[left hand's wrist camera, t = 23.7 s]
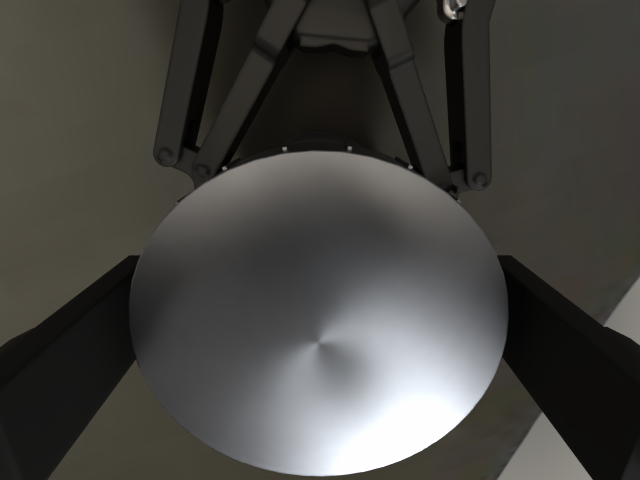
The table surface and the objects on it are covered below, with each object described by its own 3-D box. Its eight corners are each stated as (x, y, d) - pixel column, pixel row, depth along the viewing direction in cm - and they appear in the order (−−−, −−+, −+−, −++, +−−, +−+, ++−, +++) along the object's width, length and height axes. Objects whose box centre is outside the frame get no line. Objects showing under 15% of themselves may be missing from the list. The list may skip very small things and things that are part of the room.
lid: (113, 169, 11) (61, 184, 8) (476, 110, 10) (518, 110, 8) (207, 435, 14) (187, 493, 12) (478, 402, 14) (507, 457, 11)
